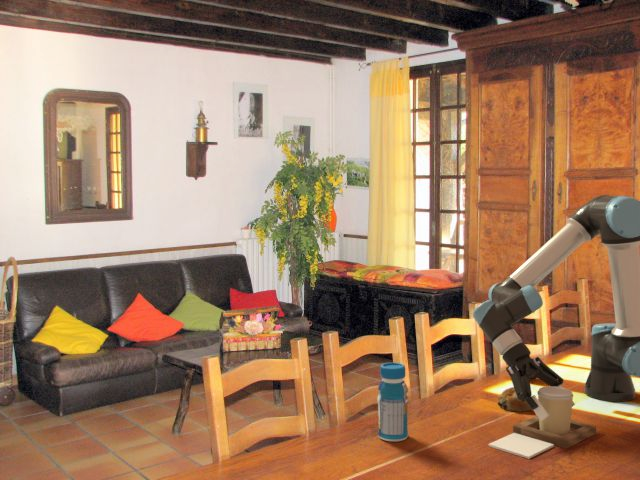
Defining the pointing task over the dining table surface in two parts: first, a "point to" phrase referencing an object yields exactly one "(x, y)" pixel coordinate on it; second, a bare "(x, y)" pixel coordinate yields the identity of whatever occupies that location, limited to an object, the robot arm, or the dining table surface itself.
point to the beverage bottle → (392, 403)
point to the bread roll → (512, 401)
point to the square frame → (566, 441)
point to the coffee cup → (556, 409)
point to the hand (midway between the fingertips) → (558, 412)
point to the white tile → (521, 445)
